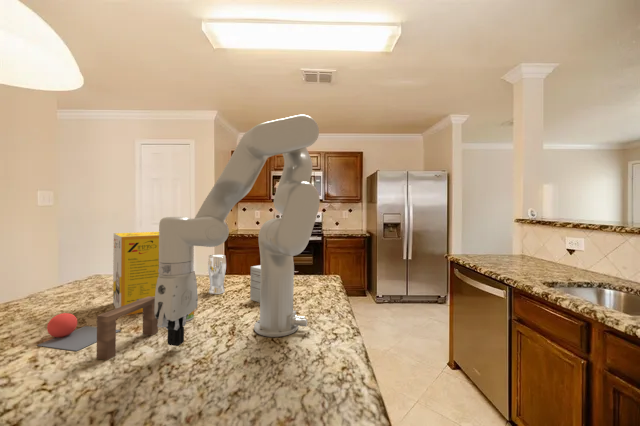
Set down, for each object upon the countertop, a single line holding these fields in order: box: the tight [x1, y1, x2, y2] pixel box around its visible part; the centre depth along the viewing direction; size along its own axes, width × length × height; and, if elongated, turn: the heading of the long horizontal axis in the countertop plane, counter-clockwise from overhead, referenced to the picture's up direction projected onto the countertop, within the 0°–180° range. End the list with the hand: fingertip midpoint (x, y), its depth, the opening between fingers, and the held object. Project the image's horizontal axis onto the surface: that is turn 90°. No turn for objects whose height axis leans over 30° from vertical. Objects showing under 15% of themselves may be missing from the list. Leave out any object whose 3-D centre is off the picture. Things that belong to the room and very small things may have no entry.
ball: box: [46, 312, 78, 338], centre depth 76 cm, size 6×6×6 cm
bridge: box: [96, 296, 159, 361], centre depth 73 cm, size 3×15×10 cm, turn 168°
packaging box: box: [112, 231, 159, 317], centre depth 102 cm, size 16×16×25 cm
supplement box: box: [249, 264, 261, 304], centre depth 110 cm, size 7×7×13 cm
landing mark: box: [36, 325, 121, 352], centre depth 76 cm, size 12×12×1 cm
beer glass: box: [207, 253, 227, 295], centre depth 119 cm, size 7×7×15 cm
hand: (175, 343), depth 70 cm, fingers closed
